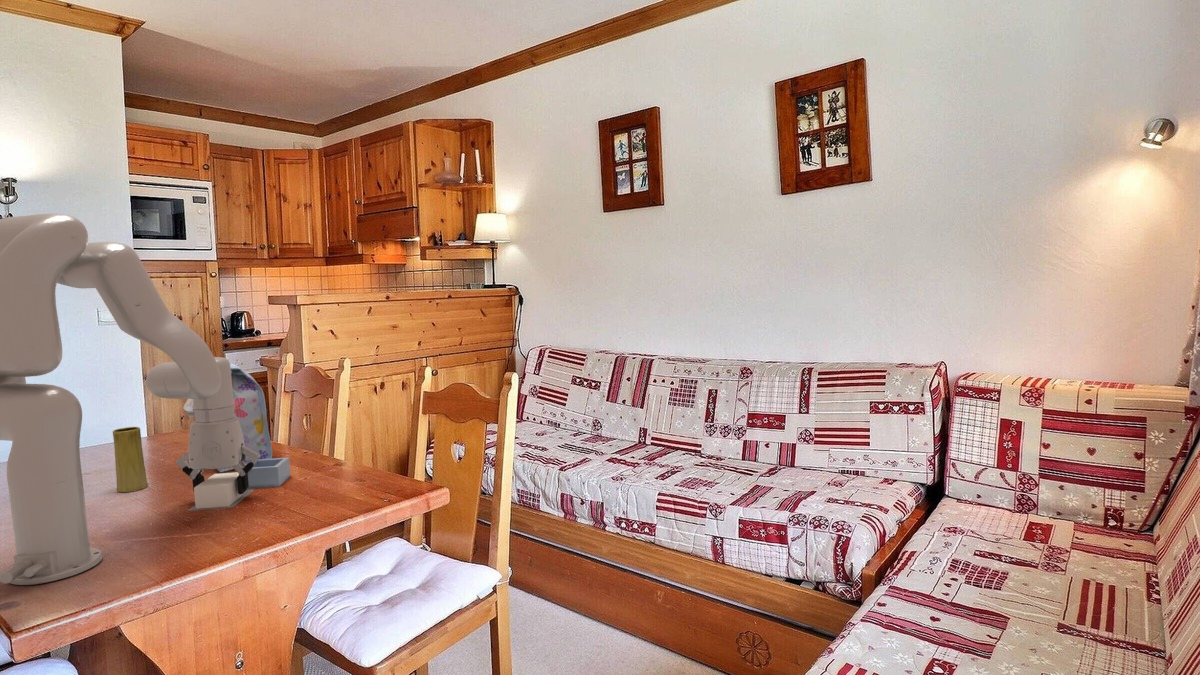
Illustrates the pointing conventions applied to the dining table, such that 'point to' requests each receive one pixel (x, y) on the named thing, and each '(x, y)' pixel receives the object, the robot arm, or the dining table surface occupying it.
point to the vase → (129, 460)
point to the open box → (269, 473)
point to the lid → (217, 491)
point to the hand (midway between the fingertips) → (221, 493)
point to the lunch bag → (248, 413)
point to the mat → (227, 506)
